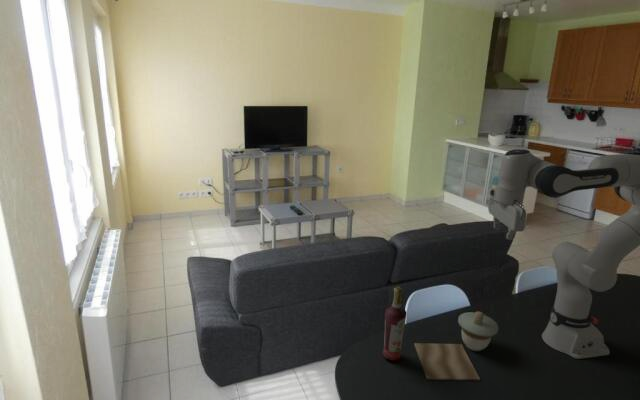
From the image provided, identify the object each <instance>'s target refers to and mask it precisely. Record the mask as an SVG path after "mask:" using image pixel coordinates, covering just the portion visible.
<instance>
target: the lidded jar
mask: <svg viewBox="0 0 640 400" xmlns="http://www.w3.org/2000/svg"><path fill="white" fill-rule="evenodd" d="M460 335H461V339H462V341H463V343H464V344H465V346H466V348H468V349H469V350H471V351H474V352H481V351H482V350H485V349H486V348H487V347H488V346H489V344H490V342H491V341H492V340H491V339H492V336H488V337H484V336H477V335H474V334H471V333H469V332H467V331H466V330H464V329H463V328H462V327H461V333H460Z"/></svg>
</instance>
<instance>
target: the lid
mask: <svg viewBox="0 0 640 400" xmlns="http://www.w3.org/2000/svg"><path fill="white" fill-rule="evenodd" d="M457 323H458V325H459V326H460V327H461V329H462V328H463V329H464V330H466V331H467V332H469V333H471V334H474V335H477V336H484V337H488V336H491V337H493V336H495V335H497V333H498V331H499V325H498V324H497V322H496V321H495V320H494V319H493V318H492V317H489V316H487V315H486V314H485V313H483V312H482V311H475V312H474V311H473V312H471V311H470V312H463V313H461V314H460V315H458V319H457Z"/></svg>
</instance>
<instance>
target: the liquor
mask: <svg viewBox="0 0 640 400" xmlns="http://www.w3.org/2000/svg"><path fill="white" fill-rule="evenodd" d="M402 292H403V288H402V287H401V286H395V287H394V288H393V295H394V296H393V301H392V304H391V305H389V306H387V307H386V308H385V312H384V338H383V339H384V340H383V341H384V342H383V343H384V344H383V350H382V351H381V352H382V355H383V357H384V358H385V359H387V360H388V359H389V361H393V362H394V361H398V360H400V359H401V358H402V344H403V337H404V332H405V327H406V320H407V319H406V318H407V311H406V310H405V308H403V307H402V306H401V305H402V304H401V303H402V300H401V297H402V294H403V293H402Z"/></svg>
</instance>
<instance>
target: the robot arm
mask: <svg viewBox="0 0 640 400" xmlns="http://www.w3.org/2000/svg"><path fill="white" fill-rule="evenodd" d="M498 179H499V180H498V183H497V185H496V188H492V189H490V190H489V195H490V197H489V201H488V207H487V208H488V209H487V210H488V213H489V214H490V215H491V216H492V217H493V218H492V219H493V229H494V230H497V231H499V230H501V223H502V224H503V225H504V226H506V227H507V230H508V232H507V233H505V239H506V240H508V241H512V240H513V239H514V238H513V237H514V235H515V234H516V233H517V232H524V230H525V229H526V222H527V211H526V209H525V207H524V204H523V203H524V199H525V194H526V188H528V187H529V188H530V187H531V188H533V189H535V190H536V191H539V192H540V193H542V194H543V195H545V196H546V197H549V198H560V197H563V196H566V195H567V194H571V193H572V192H573V193H574V192H577V191H583V190H584V191H585V190H593V189H600V188H602V189H603V188H614V192H615V195H617V196H618V197H619V198H620V199H622V200H623V201H625V202H628V203H630V204H631V206H630V207H629V209H628V211H627V212H625V213H623V214H621V215H620V216H618V217H617V218H615V219H614V220H613V221H611V222H610V223H609V224H607V225H606V226H605V227H603V228H602V229H600V230H599V231H598V232H597V234H596V236H595V238H596V239H595V240H596V243H595V246H594V247H593V248H592V249H591V250H590V251H589V250H588V249H587V248H585V247H583V246H581V245H578V244H577V243H573V242H569V241H564V242H563V241H562V242H560V243H558V244H557V245H556V246H554V248H553V250H552V251H551V256H552V257H551V258H552V260H553V262H554V265H555V270H556V280H557V287H556V288H557V289H556V295H555V300H554V304H553V305H551V306H552V308H551V309H550V316H549V317H550V318H549V321H548V323H547V326H546V327H545V329H544V331H543V332H542V333H541V337H542V340H543V341H544V343H545V344H546V345H547V346H549V347H551V348H552V349H554V350H556V351H559V352H561V353H564V354H565V355H566V354H567V355H568V356H570V357H572V358H574V359H577V360H578V359H579V360H581V359H588V358H597V357H601V356H602V357H603V356H608V355H610V353H611V352H610V348H609V347H608V345H607V344H605V340H604V335H603V334H602V332H601V331H600V330H599V329H598V328H597V327H596V326H594V325H596V324H598V322H599V320H598V319H597V318H596V317H595V316H591V314H590V309H591V305H592V302H593V295H592V293H591V290H592V291H594V292H598V293H599V292H606V291H608V290H611V289H612V288H613V287H614V286H615V285H616V283H617V280H618V268H619V266H620V265H621V263H622V261H623V260H624V258H626V257H627V256H628V255H629V254H631V252H633V251H634V250H636V248H638V247H640V154H639V155H638V154H632V153H631V154H629V153H622V154H621V153H619V154H605V155H600V156H596V157H595V158H593V160H591V162H590V163H589V165H588V167H587V169H577V170H576V169H574V170H573V169H571V168H568V167H566V166H562V165H558V164H556V163H552V162H549V161H546V160H543V159H541V158H539V157H537V156H536V155H534V154H532V153H531V151H530V150H528V149H520V148H519V149H518V148H517V149H512V150H508V151H507V152H505V153H504V154H503V157H502V160H501V163H500V168H499V172H498ZM591 322H592V323H591ZM593 324H594V325H593Z"/></svg>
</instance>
